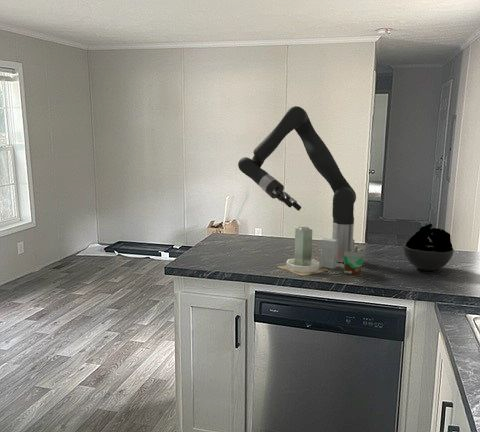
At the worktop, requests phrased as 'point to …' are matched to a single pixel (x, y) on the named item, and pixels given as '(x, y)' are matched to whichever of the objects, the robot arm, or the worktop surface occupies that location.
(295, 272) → the board
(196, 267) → the worktop surface
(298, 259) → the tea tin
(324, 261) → the skincare box
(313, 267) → the bowl
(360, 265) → the food container
